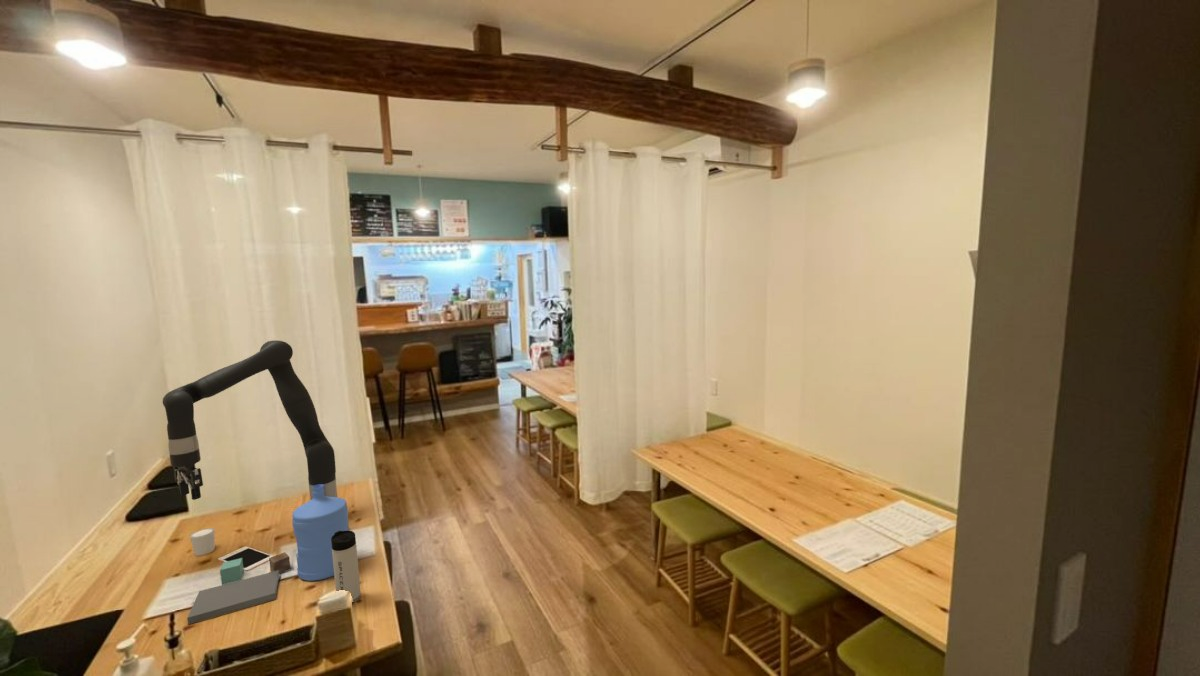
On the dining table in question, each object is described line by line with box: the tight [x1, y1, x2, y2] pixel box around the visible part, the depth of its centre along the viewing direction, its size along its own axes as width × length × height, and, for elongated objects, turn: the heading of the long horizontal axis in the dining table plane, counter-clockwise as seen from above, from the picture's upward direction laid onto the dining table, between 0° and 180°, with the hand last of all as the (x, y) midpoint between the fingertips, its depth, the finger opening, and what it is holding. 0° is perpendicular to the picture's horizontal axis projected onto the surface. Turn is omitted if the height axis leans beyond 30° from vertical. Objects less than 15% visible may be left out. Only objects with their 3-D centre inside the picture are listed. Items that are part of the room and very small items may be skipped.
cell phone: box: [217, 545, 274, 572], centre depth 164 cm, size 9×18×1 cm, turn 64°
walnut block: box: [268, 552, 291, 575], centre depth 156 cm, size 4×4×4 cm
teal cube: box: [219, 558, 245, 585], centre depth 153 cm, size 5×5×5 cm
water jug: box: [291, 484, 351, 582], centre depth 156 cm, size 16×16×28 cm
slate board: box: [186, 570, 280, 625], centre depth 142 cm, size 20×14×2 cm
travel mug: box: [331, 530, 362, 603], centre depth 139 cm, size 6×7×20 cm
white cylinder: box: [189, 527, 216, 557], centre depth 170 cm, size 7×7×7 cm
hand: (190, 496), depth 160 cm, fingers open, 8 cm apart
